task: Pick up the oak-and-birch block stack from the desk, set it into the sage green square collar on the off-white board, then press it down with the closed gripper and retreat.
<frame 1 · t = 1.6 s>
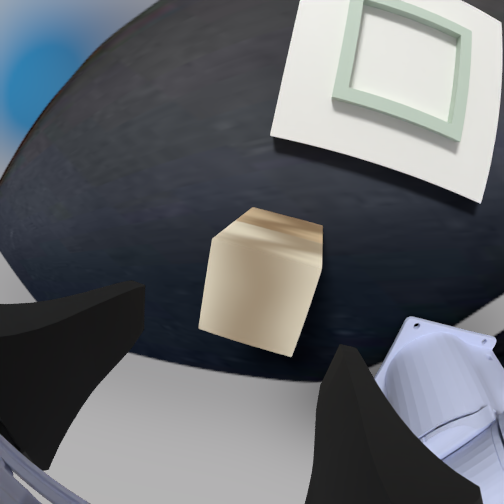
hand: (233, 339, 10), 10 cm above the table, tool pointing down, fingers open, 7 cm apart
collar board: (403, 64, 14), on the table
block stack: (279, 249, 20), on the table
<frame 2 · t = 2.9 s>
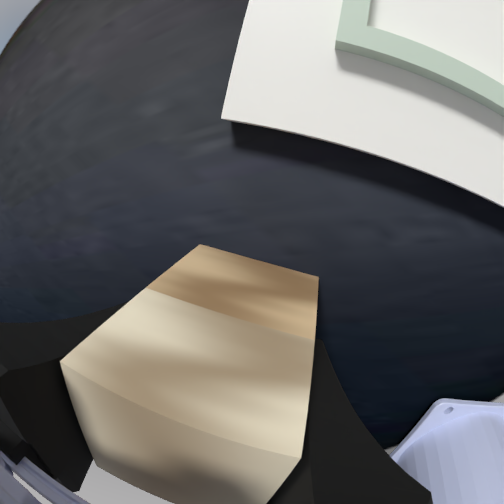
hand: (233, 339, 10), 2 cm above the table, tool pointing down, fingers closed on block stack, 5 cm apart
collar board: (449, 9, 6), on the table
block stack: (246, 312, 12), on the table, touching gripper
when the fingers open (4 cm above the table, at t = 7.6 s): block stack stays where it is, resting on collar board.
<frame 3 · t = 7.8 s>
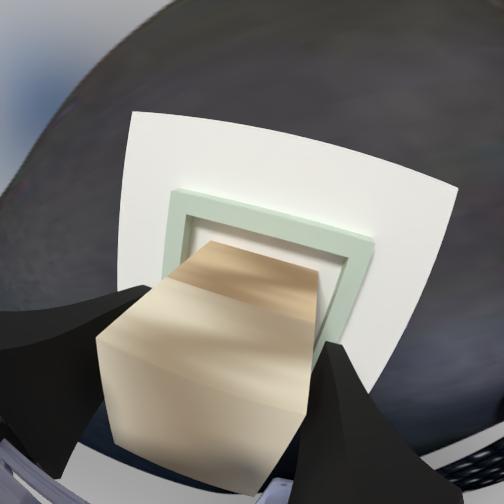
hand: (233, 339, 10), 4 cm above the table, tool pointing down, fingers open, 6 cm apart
collar board: (257, 289, 14), on the table
block stack: (251, 303, 13), point 1 cm above the table, touching collar board
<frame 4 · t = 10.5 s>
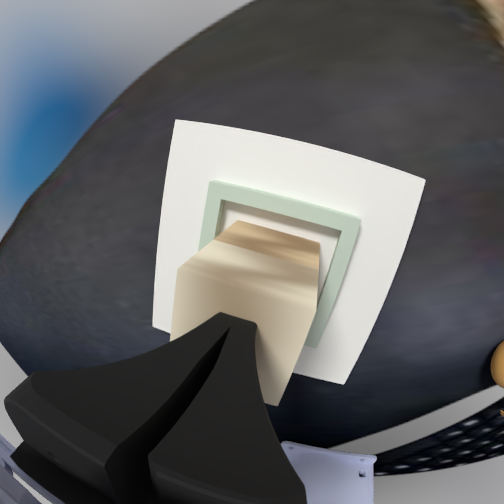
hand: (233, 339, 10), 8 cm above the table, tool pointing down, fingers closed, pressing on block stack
collar board: (272, 259, 18), on the table
block stack: (268, 269, 17), point 1 cm above the table, touching collar board, gripper
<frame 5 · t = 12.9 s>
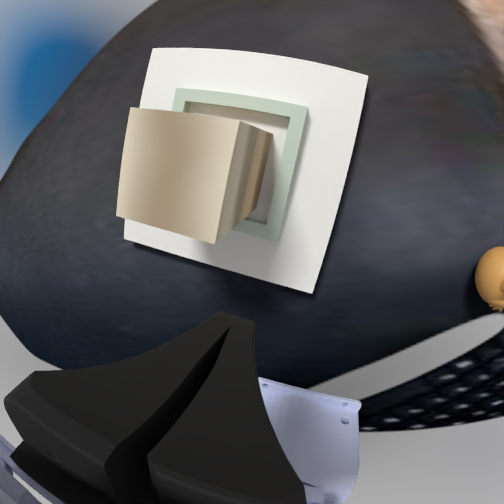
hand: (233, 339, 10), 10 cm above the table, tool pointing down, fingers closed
collar board: (233, 159, 19), on the table
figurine: (487, 251, 17), on the table
block stack: (227, 162, 18), point 1 cm above the table, touching collar board
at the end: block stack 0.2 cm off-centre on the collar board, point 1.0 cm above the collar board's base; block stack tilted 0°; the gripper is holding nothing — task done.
